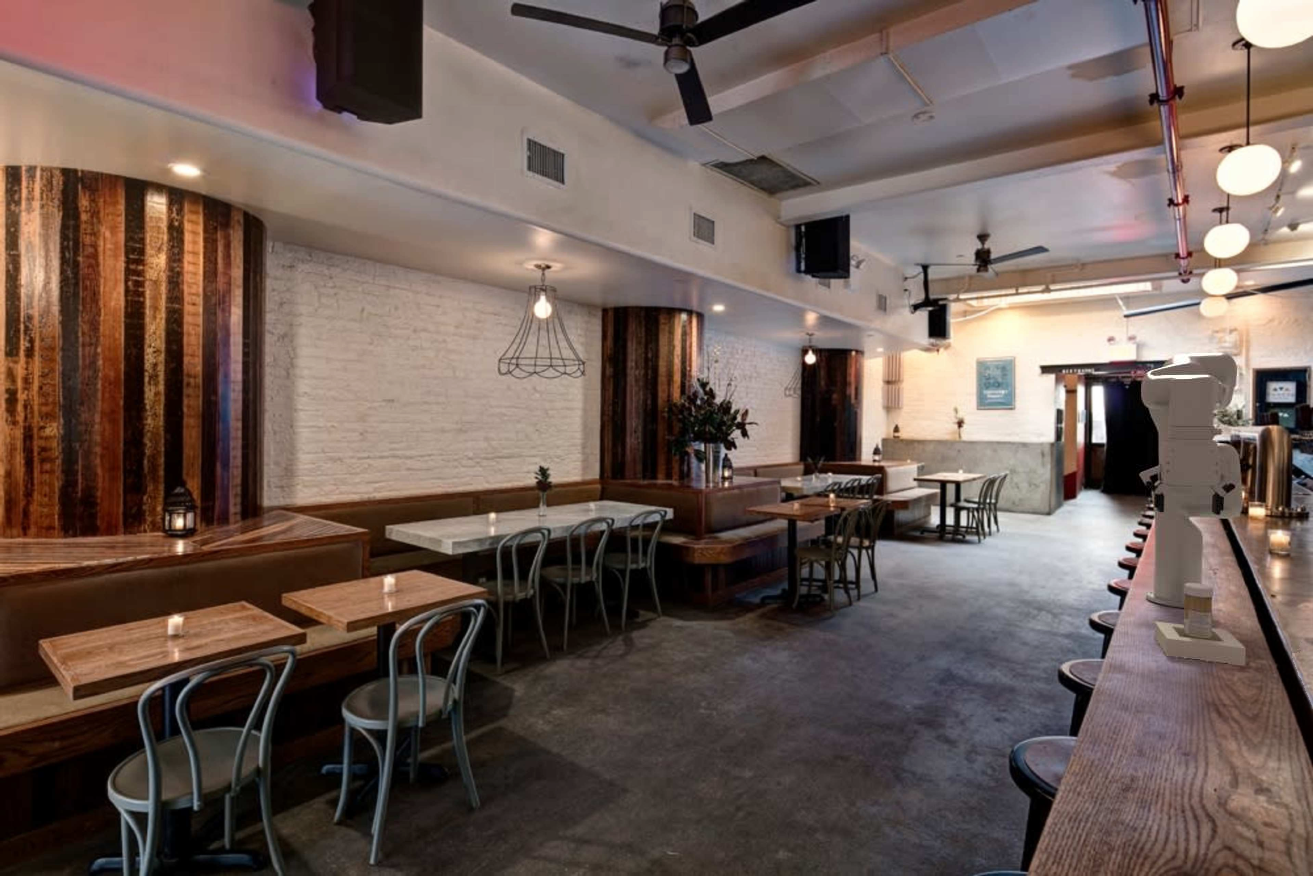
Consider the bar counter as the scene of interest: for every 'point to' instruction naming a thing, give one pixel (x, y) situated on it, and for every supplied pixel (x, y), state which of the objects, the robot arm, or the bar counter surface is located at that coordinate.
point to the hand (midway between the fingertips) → (1187, 512)
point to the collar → (1200, 644)
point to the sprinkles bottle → (1198, 611)
